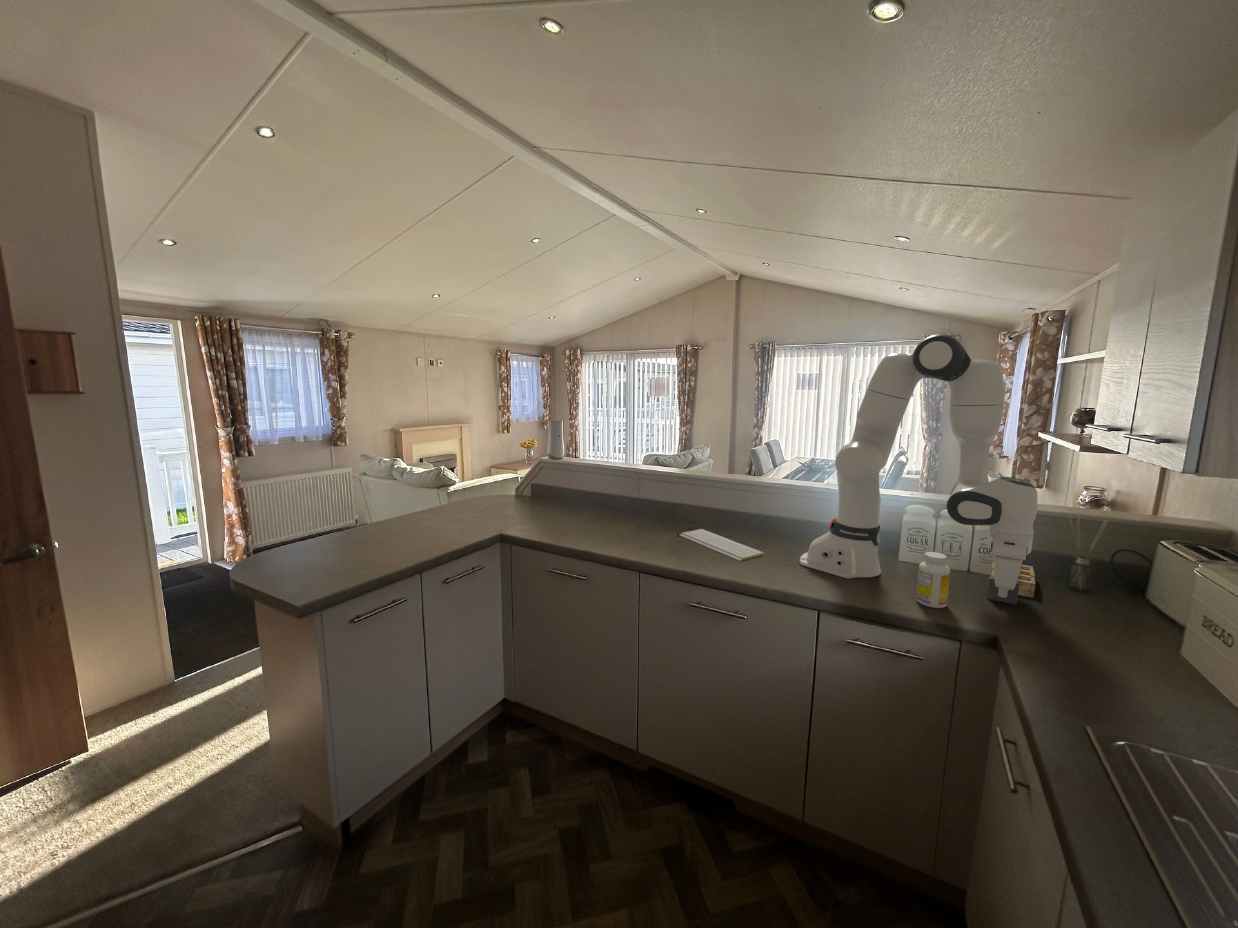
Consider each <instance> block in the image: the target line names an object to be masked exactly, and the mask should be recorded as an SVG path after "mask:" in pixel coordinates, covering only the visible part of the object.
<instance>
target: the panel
mask: <svg viewBox="0 0 1238 928" xmlns="http://www.w3.org/2000/svg"><path fill="white" fill-rule="evenodd" d="M987 586H988V587H987V596H986V599H987V600H992V601H996V602H1001V603H1005V604H1010V605H1013V606H1014V605H1016V606H1017V605H1018V599H1019V598H1018V597H1019V595H1018V591H1019V581H1017V582H1016V585H1015V588H1014V589H1013V590H1009V589H1008V593H1007V597H1006V598H1004V597H999V596H998V590H999V587H996V585H995V576H991V575H989V578H988V585H987Z"/></svg>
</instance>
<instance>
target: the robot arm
mask: <svg viewBox="0 0 1238 928" xmlns="http://www.w3.org/2000/svg"><path fill="white" fill-rule="evenodd" d="M926 378H929V379H935V380H940V381H944V382H947V383H948V385H949V388H950V398H949V399H950V400H949V402H950V403H949V420H950V421H949V422H950V427H951V432H952V433H953V435H954V436H955V438H956V440H957V441H958V445H959V450H960V454H959V455H960V456H959V475H958V479H957V482H956V483H955V485H954V486H953V487H952V489H951V491H950V493H949V494H950V495H949V497H948V500H947V501H946V512H947V514H948V516H949V517H950V518H951V519H953V521H954V522H956V523H958V524H961V525H964V526H965V525H966V526H988V529H987V538H986V546H987V547H988V548H989V550H990V552H991V554H992V556H993V560H994V572H995V585H996V587H999V590H998V596H999V597H1004V598H1006V597H1007V593H1008V589H1009V590H1013V589H1014V588H1015V585H1016V582H1017V579H1018V575H1019V571H1020V568H1021V565H1023V564H1022V563H1023V561H1026V559H1027V556H1028V555H1029V554H1031V553H1032V549H1033V540H1034V529H1033V528H1034V527H1033V524H1034V522H1035V519H1036V517H1037V511H1038V490H1037V488H1036V487H1035V486H1034V485H1033V484H1032V483H1030V481H1026V480H1025V479H1021V478H1017V477H1013V476H1012V477H1011V476H1000V477H998V478H996V479H994V480H991V481H989V461H990V460H989V459H990V452H991V451H990V450H991V447H992V444H993V442H994V439H996V436H997V435H998V433H999V430H1000V428H1001V425H1002V420H1003V415H1004V409H1005V381H1004V374H1003V369H1002V367H1001V365H999V364H998V363H997V362H995V361H992V360H989V359H974V358H971V357H970V355H969V354H968V350H967V347H966V345H965V344H964V342H963V341H962V340H961V339H959V338H958V337H956V336H955V335H952V334H945V333H936V334H931V335H929V336H927V337H926V338H924V339H922V340H921V341H920V342H919V343H918V344H917V345H916V346H915V349H914V350H913V352H912V353H902V352H895V353H890V354H887V355H886V356H884V357H883V358H882V359H881V361H880V362H879V364H878V365H877V367H876V369H875V370H874V372H873V375H872V376H871V379H870V381H869V384H868V386H867V388H866V391H865V393H864V395H863V398H862V401H861V404H860V407H859V409H858V410H857V411H858V412H857V415H856V421H855V425H854V431H853V434H852V438H851V440H850V443H847V444H845V445H844V446H842V447H841V448H840V449H839V451H838V453H837V455H836V457H835V465H834V466H835V469H836V479H837V488H838V489H837V490H838V504H837V505H838V507H837V517H834V518H832V519H831V521H830V523H829V524H828V525H829V526H828V529H829V531H828V532H826V533H824V534H822V535H820V536H818V537H817V538H815V539H814V540H813V541H811V543H810V545H809V547H808V550H807V552H805V553H803V554H802V555H801V556H800V558H799V565H800V566H804V567H807V568H810V569H814V570H817V571H821V572H824V573H827V574H831V575H834V576H837V577H840V578H844V579H856V578H874V577H878V576H880V575H881V574H882V570H881V566H880V558H879V547H878V546H879V543H880V539H881V525H880V524H879V523H880V513H881V512H880V511H881V504H882V503H881V502H882V501H881V500H882V498H881V492H880V472H881V471H882V470H883V469H884V468H885V466H886V465H887V463H888V460H889V458H890V455H891V452H892V449H893V446H894V444H895V440H896V437H897V433H898V431H899V427H900V425H901V423H902V421H903V417H904V415H905V413H906V410H907V408H908V405H909V403H910V400H911V398H912V395H913V392H914V391H915V389H916V387H917V386H918V385H917V384H919V382H920V381H921V380H923V379H926Z"/></svg>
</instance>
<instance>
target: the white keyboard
mask: <svg viewBox="0 0 1238 928" xmlns="http://www.w3.org/2000/svg"><path fill="white" fill-rule="evenodd" d="M697 528H699V529H695V527H692V526H690V527H688V528H687V529H686V530H688V531H685V532H681V533H679V534H678V536H680V537H682V538H685V539H686V540H689V541H692V542H694V543H695V544H697V545H700V546H704V547H706V548H708V549H710V550H713V551H715V552H716V553H720V554H721V555H724V556H726V557H729V558H731V559H734V560H735V561H736V560H737V561H738V562H742V561H745V560H749V559H754V558H757V557H761V556H764V552H763V551H760V550H759V549H755V548H752V547H750V546H748V545H745V544H742V543H739V542H736V541H734V540H732V539H730V538H726V537H724V536H721V535H719V534H716V533H714V532H711V531H708V530H706V529H703V528H700V527H697ZM692 529H695V530H692ZM689 530H690V531H689ZM681 531H684V529H682V530H681Z"/></svg>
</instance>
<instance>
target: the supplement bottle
mask: <svg viewBox="0 0 1238 928" xmlns="http://www.w3.org/2000/svg"><path fill="white" fill-rule="evenodd" d="M923 558H924V561H921V563H919V565H918V574H917V585H916V595H915V596H916V597H915V599H916V601H917V602H918V603H919V604H920V605H923V606H924V607H928V608H934V609H942V608H943V609H944V608H946V607H947V606H948V598H949V591H950V580H951V579H950V578H951V569H950V567H949V566H948V565H946V563H947V561H948V557H947V555H946V554H944V553H942V552H936V551H926V552H924V556H923Z"/></svg>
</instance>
